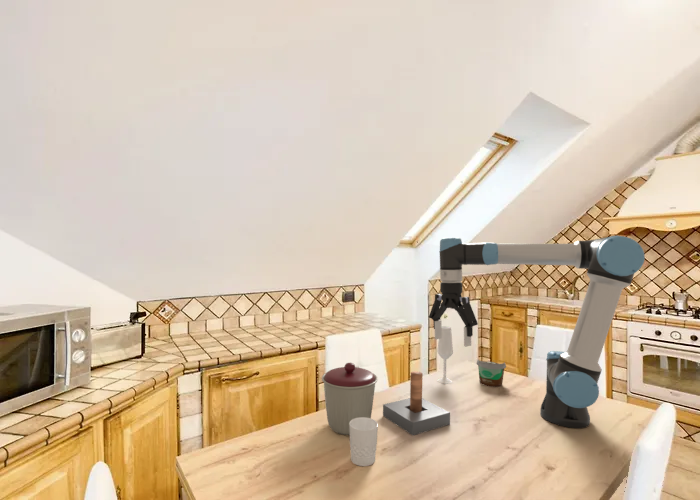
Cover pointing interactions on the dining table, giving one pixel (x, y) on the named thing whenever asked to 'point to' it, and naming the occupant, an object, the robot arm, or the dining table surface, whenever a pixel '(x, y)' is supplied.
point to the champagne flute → (445, 350)
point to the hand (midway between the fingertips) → (452, 342)
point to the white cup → (363, 440)
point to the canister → (348, 395)
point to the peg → (416, 392)
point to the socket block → (416, 416)
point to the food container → (491, 373)
